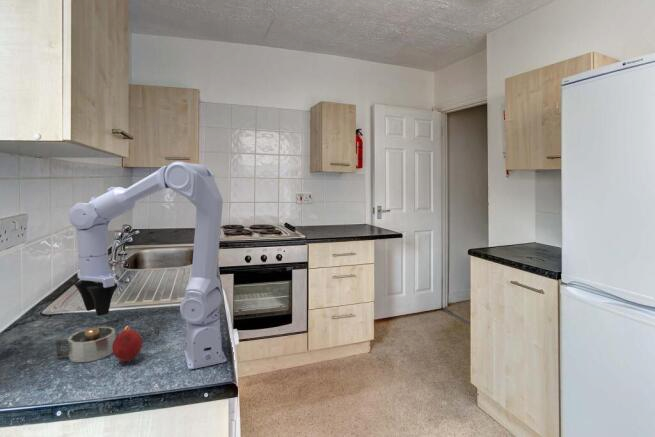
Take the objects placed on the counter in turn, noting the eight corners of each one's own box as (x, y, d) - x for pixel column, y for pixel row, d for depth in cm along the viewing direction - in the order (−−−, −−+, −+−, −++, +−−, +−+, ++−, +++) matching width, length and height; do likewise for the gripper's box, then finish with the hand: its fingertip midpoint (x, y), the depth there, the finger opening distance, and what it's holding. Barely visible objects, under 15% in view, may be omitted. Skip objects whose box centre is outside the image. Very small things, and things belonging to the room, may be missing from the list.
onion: (139, 366, 77) (138, 330, 76) (109, 369, 75) (107, 333, 75) (145, 353, 82) (143, 320, 82) (117, 357, 81) (115, 323, 80)
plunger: (106, 351, 81) (105, 331, 81) (75, 356, 79) (73, 337, 78) (109, 340, 87) (108, 322, 86) (79, 345, 84) (78, 327, 83)
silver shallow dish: (114, 357, 81) (113, 338, 80) (53, 368, 76) (51, 348, 75) (117, 341, 89) (116, 324, 88) (62, 351, 84) (60, 332, 83)
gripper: (127, 255, 81) (130, 313, 82) (98, 248, 89) (102, 301, 90) (92, 261, 75) (96, 323, 76) (65, 253, 83) (69, 309, 85)
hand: (97, 312), depth 83 cm, fingers open, 5 cm apart
